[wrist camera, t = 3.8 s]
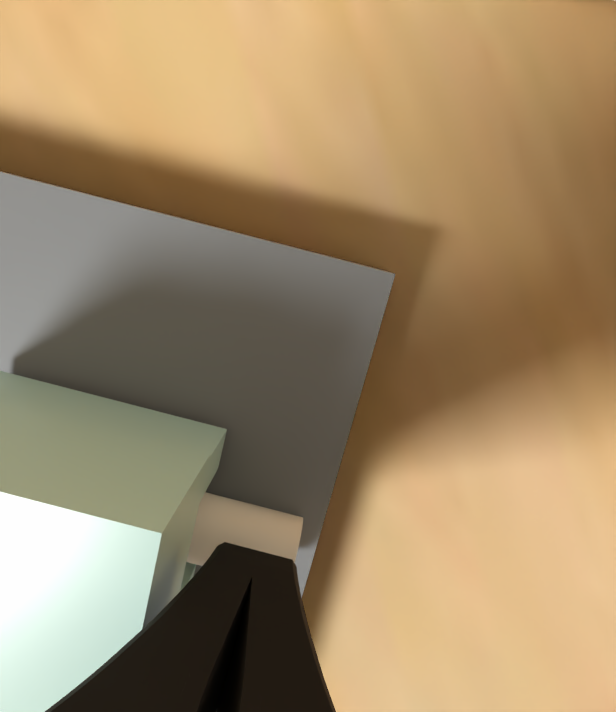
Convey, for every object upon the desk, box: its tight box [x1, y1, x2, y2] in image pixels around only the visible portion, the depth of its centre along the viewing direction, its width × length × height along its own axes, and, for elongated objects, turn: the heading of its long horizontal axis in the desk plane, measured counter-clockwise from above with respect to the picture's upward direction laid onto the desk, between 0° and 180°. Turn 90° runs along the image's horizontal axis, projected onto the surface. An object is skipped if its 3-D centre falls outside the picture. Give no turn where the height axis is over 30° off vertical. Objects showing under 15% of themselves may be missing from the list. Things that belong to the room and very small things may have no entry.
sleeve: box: [0, 371, 227, 712], centre depth 9 cm, size 5×4×4 cm
